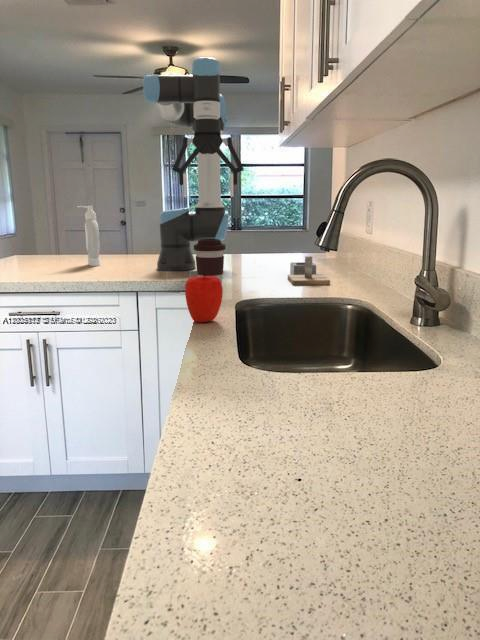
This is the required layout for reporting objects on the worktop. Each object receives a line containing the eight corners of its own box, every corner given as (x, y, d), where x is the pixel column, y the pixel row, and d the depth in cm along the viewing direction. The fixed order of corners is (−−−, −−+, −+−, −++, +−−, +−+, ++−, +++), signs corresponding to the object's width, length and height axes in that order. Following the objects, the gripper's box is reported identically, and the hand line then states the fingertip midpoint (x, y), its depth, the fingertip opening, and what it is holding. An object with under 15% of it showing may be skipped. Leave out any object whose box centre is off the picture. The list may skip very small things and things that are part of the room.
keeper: (287, 279, 174) (287, 254, 172) (321, 278, 175) (322, 254, 173) (293, 285, 163) (293, 259, 161) (329, 284, 163) (330, 258, 161)
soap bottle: (80, 263, 217) (75, 205, 211) (99, 262, 220) (94, 205, 214) (83, 267, 206) (78, 206, 200) (102, 266, 208) (98, 205, 202)
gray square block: (290, 273, 187) (290, 262, 186) (311, 272, 187) (311, 262, 186) (293, 276, 179) (294, 265, 178) (316, 276, 180) (316, 265, 179)
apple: (214, 327, 113) (213, 279, 110) (179, 324, 115) (177, 277, 113) (228, 318, 121) (228, 273, 118) (195, 315, 124) (194, 271, 121)
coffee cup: (221, 290, 155) (221, 241, 152) (191, 289, 157) (189, 240, 154) (229, 284, 165) (228, 238, 161) (199, 283, 167) (198, 238, 163)
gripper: (161, 117, 138) (164, 197, 143) (252, 117, 139) (252, 196, 144) (163, 121, 145) (166, 197, 150) (250, 121, 146) (250, 196, 152)
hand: (208, 197), depth 147 cm, fingers open, 13 cm apart
